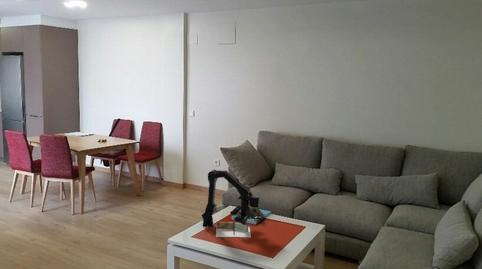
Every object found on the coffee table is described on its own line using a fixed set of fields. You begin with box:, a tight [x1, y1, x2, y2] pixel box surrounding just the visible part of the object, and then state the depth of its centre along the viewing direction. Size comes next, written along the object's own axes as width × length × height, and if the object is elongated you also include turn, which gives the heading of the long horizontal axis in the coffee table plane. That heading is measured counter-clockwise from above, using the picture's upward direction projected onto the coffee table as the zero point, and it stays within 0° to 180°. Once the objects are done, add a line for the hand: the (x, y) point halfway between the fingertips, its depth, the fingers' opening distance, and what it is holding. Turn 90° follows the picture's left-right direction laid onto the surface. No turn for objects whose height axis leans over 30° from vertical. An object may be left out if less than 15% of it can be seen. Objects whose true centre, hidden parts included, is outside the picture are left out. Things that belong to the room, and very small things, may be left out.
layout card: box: [215, 226, 252, 238], centre depth 262 cm, size 23×17×1 cm
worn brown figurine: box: [249, 205, 265, 219], centre depth 289 cm, size 12×6×18 cm, turn 86°
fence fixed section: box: [216, 221, 236, 229], centre depth 266 cm, size 12×1×5 cm, turn 92°
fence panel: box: [235, 222, 249, 231], centre depth 264 cm, size 10×1×4 cm, turn 64°
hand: (244, 227), depth 266 cm, fingers closed
